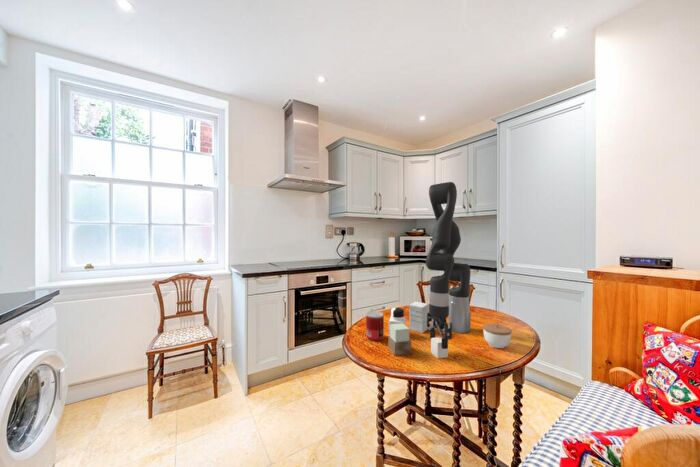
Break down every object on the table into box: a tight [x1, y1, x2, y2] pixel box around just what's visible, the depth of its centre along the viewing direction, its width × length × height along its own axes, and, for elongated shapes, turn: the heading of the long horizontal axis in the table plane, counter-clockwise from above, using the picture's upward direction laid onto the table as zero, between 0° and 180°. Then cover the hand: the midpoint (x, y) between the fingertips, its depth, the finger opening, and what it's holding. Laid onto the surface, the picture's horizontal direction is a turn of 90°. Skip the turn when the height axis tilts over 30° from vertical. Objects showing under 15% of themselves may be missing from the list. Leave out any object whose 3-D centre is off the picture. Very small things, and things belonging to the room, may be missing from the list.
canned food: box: [365, 311, 385, 342], centre depth 118 cm, size 8×8×11 cm
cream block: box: [430, 336, 449, 359], centre depth 102 cm, size 5×5×6 cm
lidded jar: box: [482, 322, 513, 349], centre depth 110 cm, size 11×11×9 cm
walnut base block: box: [387, 335, 412, 356], centre depth 106 cm, size 7×7×5 cm
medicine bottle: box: [388, 307, 407, 336], centre depth 122 cm, size 7×7×12 cm
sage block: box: [389, 323, 410, 342], centre depth 106 cm, size 6×6×5 cm
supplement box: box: [408, 301, 429, 334], centre depth 128 cm, size 7×7×13 cm
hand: (438, 343), depth 102 cm, fingers open, 8 cm apart
